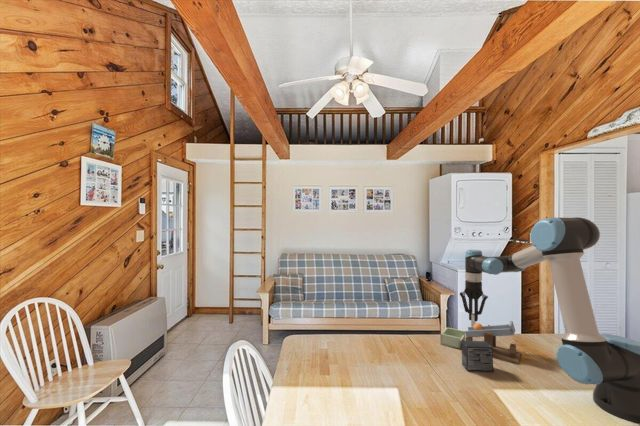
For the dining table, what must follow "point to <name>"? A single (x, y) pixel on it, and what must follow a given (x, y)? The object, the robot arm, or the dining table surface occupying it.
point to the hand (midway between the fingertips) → (473, 326)
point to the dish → (452, 337)
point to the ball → (478, 326)
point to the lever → (492, 330)
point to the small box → (477, 356)
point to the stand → (500, 349)
